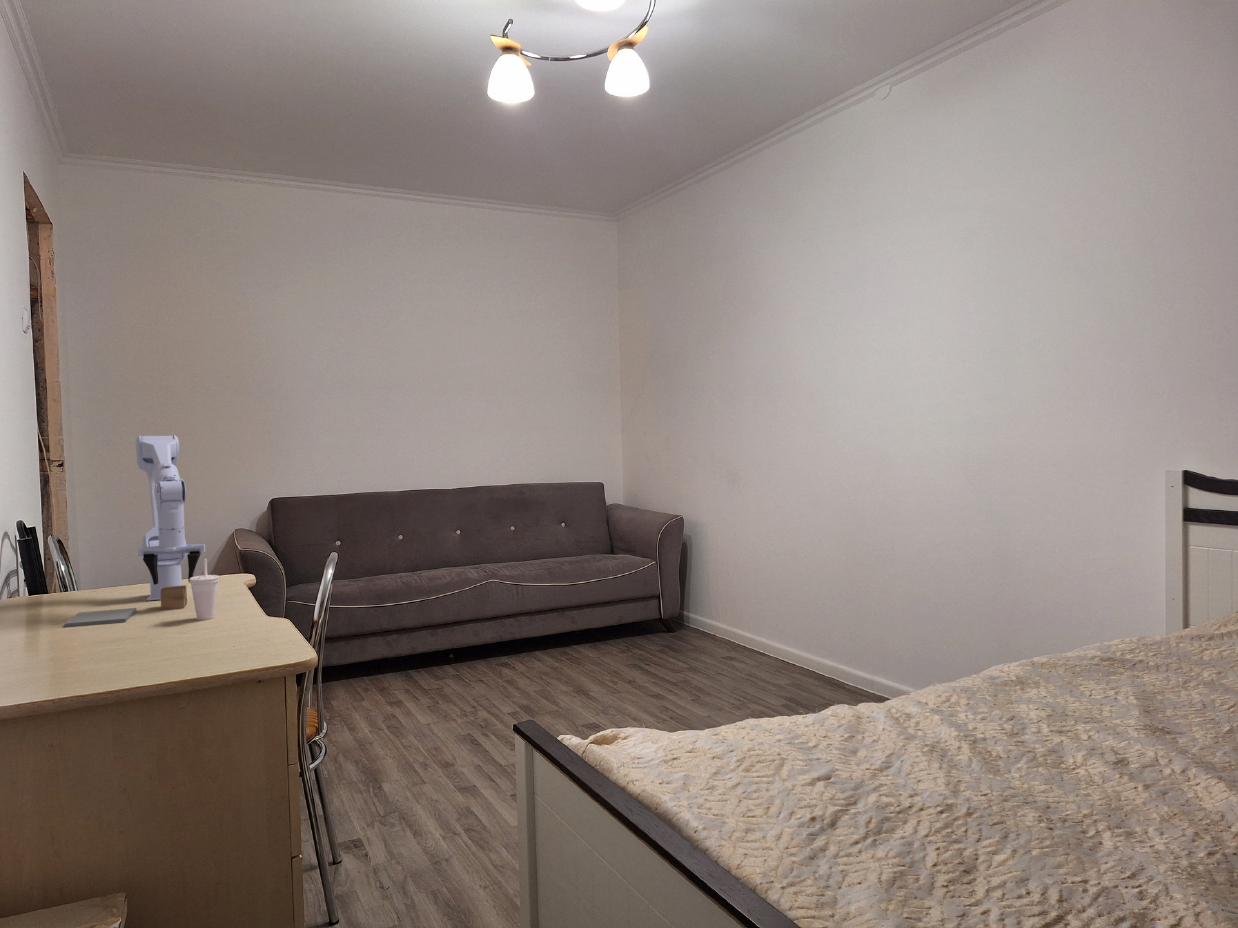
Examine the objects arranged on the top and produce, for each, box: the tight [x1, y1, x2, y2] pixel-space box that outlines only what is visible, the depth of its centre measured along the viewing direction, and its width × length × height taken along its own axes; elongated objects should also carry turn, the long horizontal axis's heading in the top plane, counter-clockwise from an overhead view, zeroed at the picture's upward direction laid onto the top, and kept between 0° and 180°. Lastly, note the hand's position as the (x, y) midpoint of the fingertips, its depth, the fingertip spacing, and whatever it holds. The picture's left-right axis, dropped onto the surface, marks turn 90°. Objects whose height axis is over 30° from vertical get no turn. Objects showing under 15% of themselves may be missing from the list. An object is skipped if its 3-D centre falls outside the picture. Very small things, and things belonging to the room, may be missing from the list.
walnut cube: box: [160, 584, 188, 611], centre depth 199 cm, size 5×5×5 cm
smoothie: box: [188, 558, 220, 621], centre depth 187 cm, size 6×6×14 cm
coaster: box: [63, 607, 137, 628], centre depth 188 cm, size 12×12×1 cm
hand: (173, 582), depth 199 cm, fingers open, 7 cm apart
